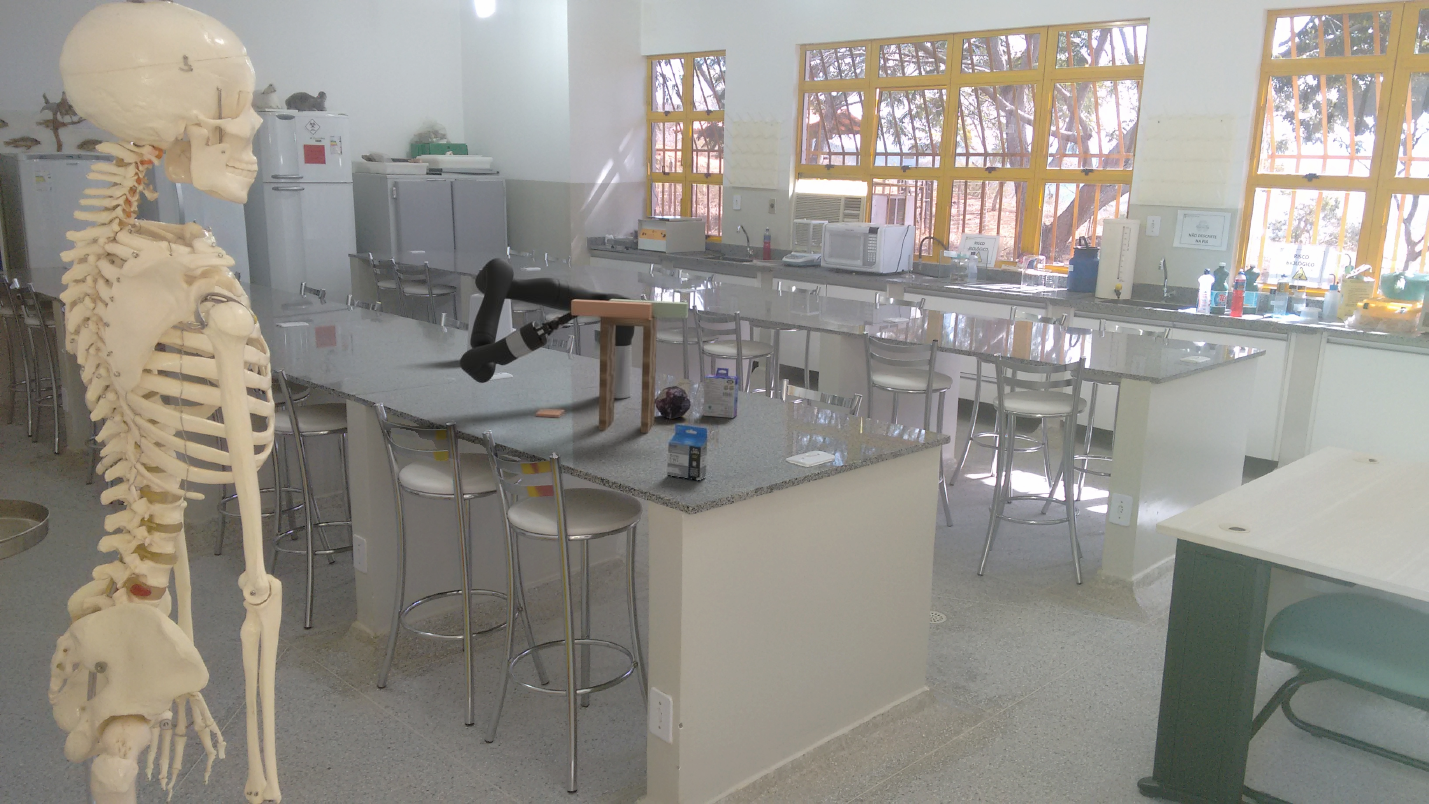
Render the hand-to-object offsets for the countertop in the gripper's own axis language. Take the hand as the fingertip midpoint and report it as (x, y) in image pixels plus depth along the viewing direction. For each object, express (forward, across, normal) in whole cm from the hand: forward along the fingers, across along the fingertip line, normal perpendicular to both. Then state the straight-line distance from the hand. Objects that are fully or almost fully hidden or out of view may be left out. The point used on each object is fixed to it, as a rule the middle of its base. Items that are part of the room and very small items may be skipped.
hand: (575, 313), depth 290 cm
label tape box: (+16, -45, +47) cm, 67 cm away
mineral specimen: (+6, +19, +41) cm, 46 cm away
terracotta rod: (+9, 0, +5) cm, 10 cm away
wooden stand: (-4, +3, +35) cm, 36 cm away
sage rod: (+17, +6, +10) cm, 21 cm away
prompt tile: (-25, +13, +23) cm, 36 cm away
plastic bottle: (-64, +99, 0) cm, 118 cm away
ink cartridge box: (+18, +25, +48) cm, 57 cm away
